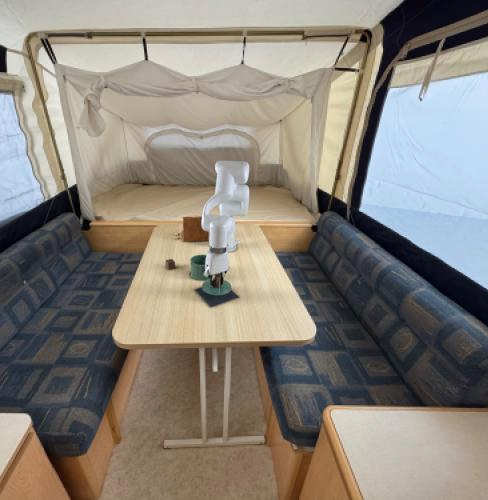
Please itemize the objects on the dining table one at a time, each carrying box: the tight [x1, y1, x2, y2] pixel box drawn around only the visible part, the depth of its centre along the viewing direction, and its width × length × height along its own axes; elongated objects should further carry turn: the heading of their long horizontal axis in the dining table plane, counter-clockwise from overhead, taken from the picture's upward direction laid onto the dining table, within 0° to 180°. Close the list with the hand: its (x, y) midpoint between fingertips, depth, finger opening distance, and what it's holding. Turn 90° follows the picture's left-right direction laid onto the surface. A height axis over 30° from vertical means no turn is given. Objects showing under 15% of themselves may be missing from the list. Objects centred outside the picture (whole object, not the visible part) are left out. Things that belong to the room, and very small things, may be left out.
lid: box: [201, 273, 232, 295], centre depth 122 cm, size 14×14×7 cm
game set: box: [174, 214, 210, 243], centre depth 183 cm, size 28×22×19 cm
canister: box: [189, 254, 210, 281], centre depth 139 cm, size 13×13×8 cm
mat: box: [194, 286, 240, 308], centre depth 125 cm, size 15×15×1 cm
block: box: [165, 258, 176, 271], centre depth 146 cm, size 4×4×4 cm
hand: (216, 284), depth 122 cm, fingers closed on lid, 3 cm apart
